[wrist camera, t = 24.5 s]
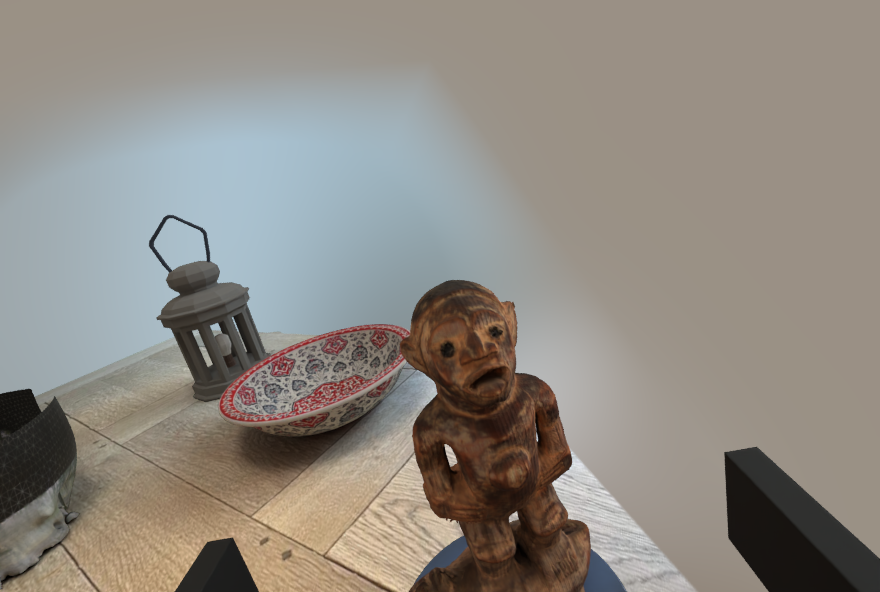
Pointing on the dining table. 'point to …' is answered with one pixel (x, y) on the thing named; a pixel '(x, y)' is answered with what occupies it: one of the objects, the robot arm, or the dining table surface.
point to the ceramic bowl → (317, 382)
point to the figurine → (491, 450)
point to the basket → (33, 479)
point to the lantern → (210, 323)
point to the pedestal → (598, 586)
